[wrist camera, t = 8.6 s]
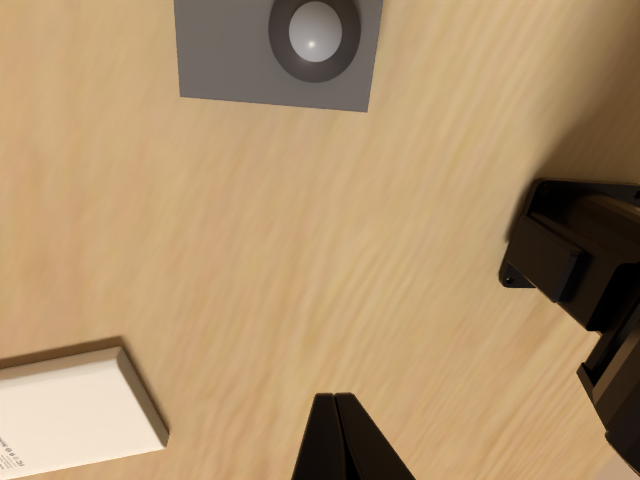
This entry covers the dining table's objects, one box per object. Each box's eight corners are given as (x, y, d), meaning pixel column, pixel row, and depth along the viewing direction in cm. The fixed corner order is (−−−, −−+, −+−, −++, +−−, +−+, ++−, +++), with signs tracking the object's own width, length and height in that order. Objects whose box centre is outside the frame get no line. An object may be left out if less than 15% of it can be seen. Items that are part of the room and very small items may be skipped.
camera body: (376, -64, 14) (400, -90, 12) (354, 103, 17) (370, 114, 14) (183, -93, 13) (160, -129, 11) (193, 89, 16) (177, 98, 13)
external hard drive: (171, 428, 26) (-12, 466, 25) (124, 339, 22) (-92, 381, 22) (165, 451, 24) (-29, 491, 24) (114, 360, 21) (-119, 406, 20)
